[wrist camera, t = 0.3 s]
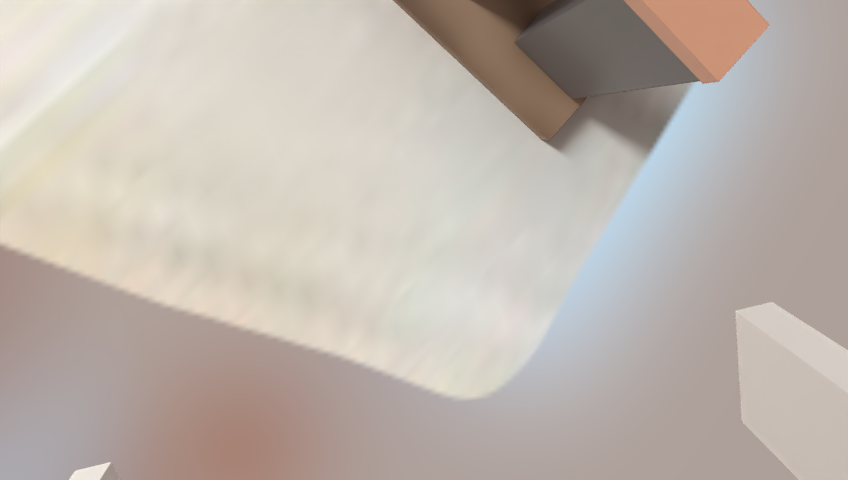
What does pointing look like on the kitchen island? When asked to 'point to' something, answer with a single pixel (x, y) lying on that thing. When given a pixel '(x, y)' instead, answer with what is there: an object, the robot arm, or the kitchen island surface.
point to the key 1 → (639, 42)
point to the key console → (498, 55)
